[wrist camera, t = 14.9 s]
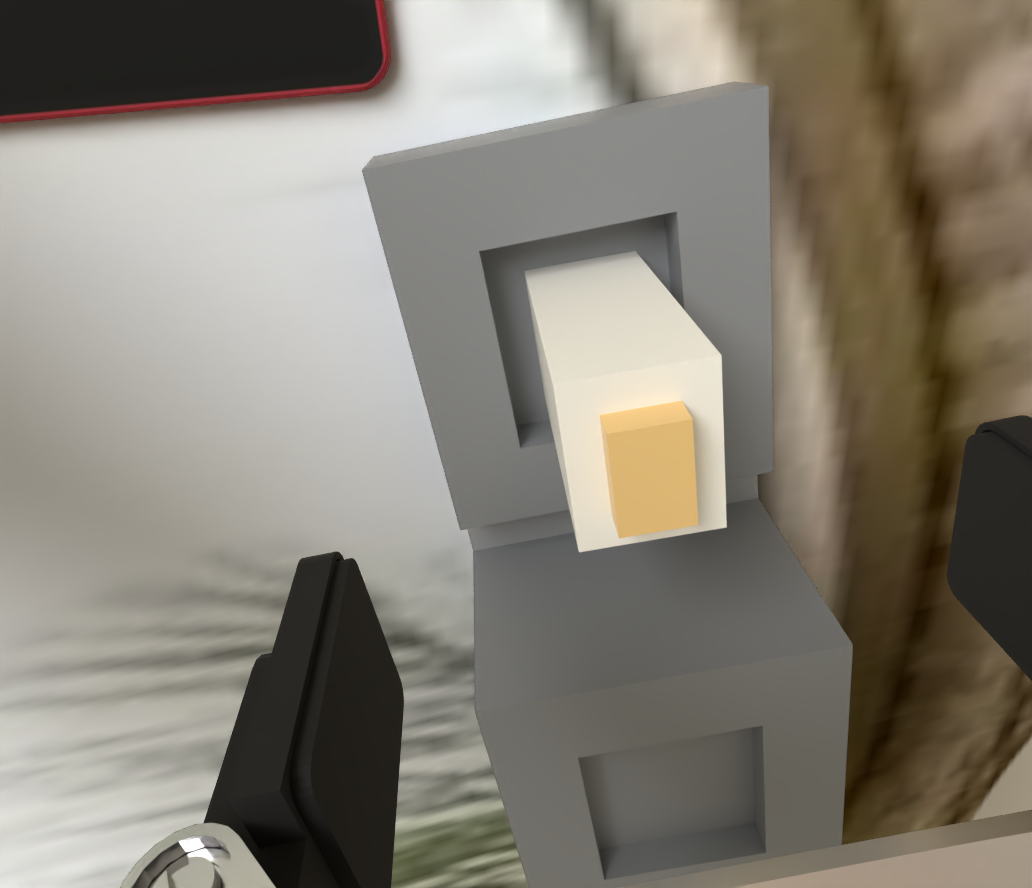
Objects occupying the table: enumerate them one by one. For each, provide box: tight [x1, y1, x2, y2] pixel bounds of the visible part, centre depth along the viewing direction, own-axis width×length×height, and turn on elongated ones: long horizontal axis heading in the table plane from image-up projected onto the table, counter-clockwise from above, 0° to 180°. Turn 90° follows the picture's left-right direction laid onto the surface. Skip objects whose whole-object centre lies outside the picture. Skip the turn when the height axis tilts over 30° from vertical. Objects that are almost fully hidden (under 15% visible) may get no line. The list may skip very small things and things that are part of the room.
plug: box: [524, 251, 727, 552], centre depth 18 cm, size 4×3×9 cm
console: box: [362, 82, 853, 888], centre depth 22 cm, size 24×10×8 cm, turn 11°
